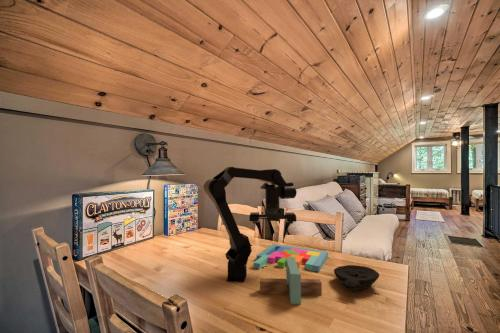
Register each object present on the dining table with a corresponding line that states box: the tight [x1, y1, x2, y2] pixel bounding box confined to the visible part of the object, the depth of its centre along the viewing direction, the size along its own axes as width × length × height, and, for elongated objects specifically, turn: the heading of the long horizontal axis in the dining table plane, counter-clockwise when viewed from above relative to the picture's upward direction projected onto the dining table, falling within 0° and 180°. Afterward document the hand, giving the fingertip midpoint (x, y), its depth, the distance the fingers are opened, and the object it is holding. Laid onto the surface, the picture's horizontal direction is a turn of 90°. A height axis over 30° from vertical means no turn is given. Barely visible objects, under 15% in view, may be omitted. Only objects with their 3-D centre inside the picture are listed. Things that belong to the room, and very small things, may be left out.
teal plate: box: [285, 258, 302, 305], centre depth 80 cm, size 14×3×9 cm, turn 177°
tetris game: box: [253, 243, 329, 273], centre depth 108 cm, size 28×3×28 cm
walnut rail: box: [259, 277, 323, 296], centre depth 80 cm, size 20×2×4 cm, turn 87°
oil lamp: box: [333, 264, 380, 292], centre depth 84 cm, size 15×20×5 cm
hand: (272, 238), depth 98 cm, fingers open, 9 cm apart
